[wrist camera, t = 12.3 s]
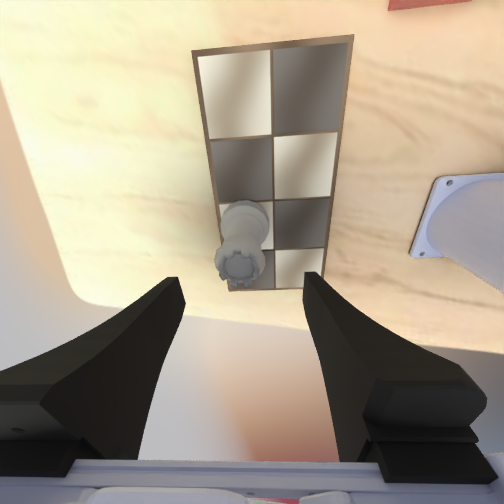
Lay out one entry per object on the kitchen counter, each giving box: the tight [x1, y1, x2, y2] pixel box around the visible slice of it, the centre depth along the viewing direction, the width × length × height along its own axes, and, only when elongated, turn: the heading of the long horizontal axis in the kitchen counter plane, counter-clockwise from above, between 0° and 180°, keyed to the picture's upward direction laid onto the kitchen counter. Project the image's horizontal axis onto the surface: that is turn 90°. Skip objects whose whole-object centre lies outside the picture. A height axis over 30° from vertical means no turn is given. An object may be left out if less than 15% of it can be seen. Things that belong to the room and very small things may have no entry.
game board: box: [191, 34, 354, 291], centre depth 19 cm, size 11×21×1 cm, turn 4°
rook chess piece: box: [214, 200, 269, 287], centre depth 16 cm, size 4×4×8 cm
